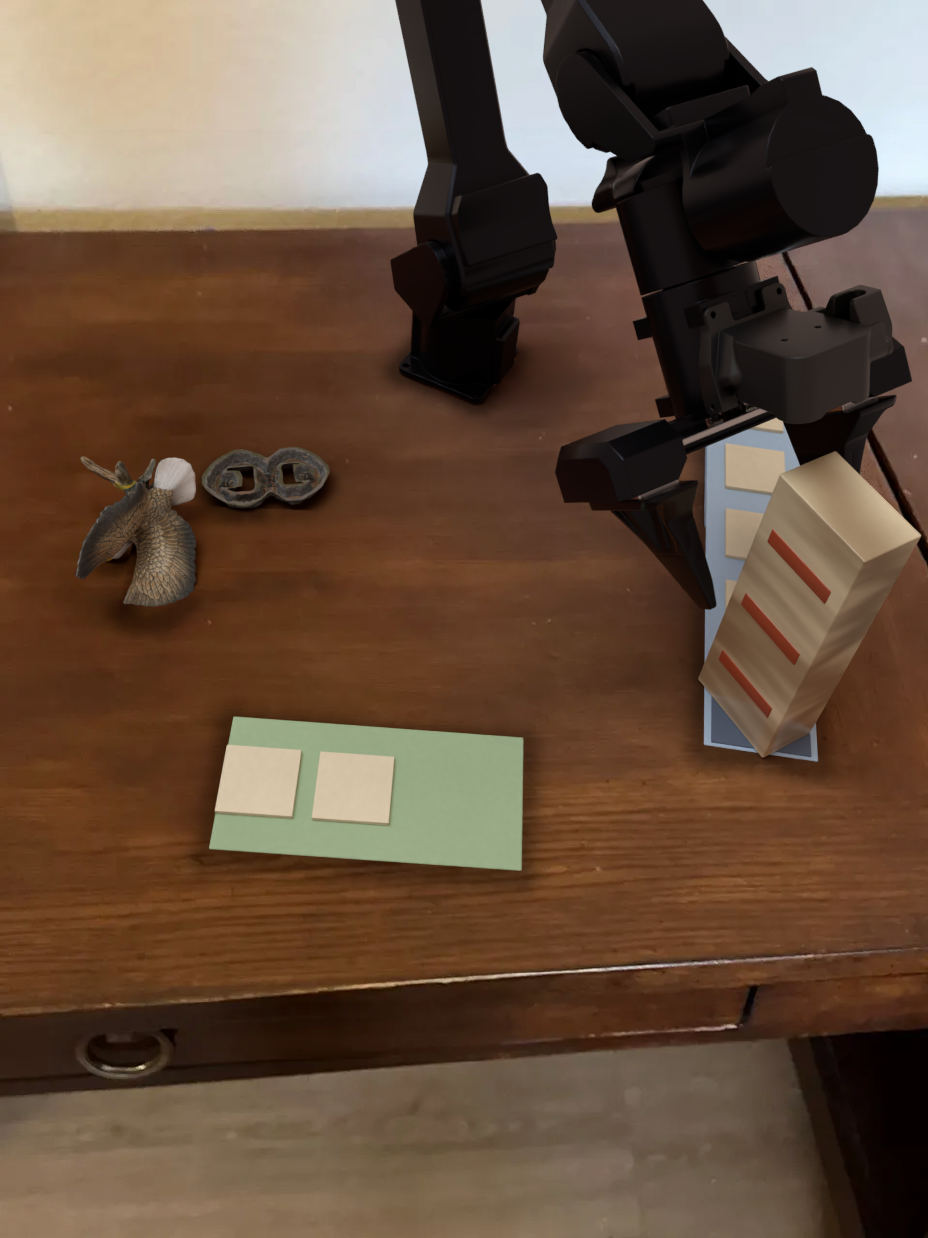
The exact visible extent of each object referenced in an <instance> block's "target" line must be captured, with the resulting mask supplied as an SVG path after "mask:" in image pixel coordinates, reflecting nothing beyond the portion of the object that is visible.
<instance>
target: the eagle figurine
mask: <svg viewBox="0 0 928 1238" xmlns="http://www.w3.org/2000/svg"><path fill="white" fill-rule="evenodd" d="M79 460H80V461H81V463H82V464H83V465H84V466H85V467H86V469H87V470H88V471H90V472H92V473H94V475H96V476H98V477H100V478H101V479H103V480H104V481H108V482H110V483H111V484H112V485H113V486H114V488H117V489H118V490H119V491H120V492H122V493H123V492H124V494H125V495H124V496H123V498H121V499H120V500H119V501H115V502H114V503H113V504H112V505H111V504H110V505H107V506H105V507H104V509H103V510H101V511H100V513H99V516H98V517H97V518H96V520H95V523H93V524H92V526H91V528H90V530H89V532H88V533H87V535H86V537H85V538H84V539H83V541H82V546H81V548H80V551H79V555H78V556H79V558H78V560H77V561H76V562H77V563H76V566H77V567H76V571H75V574H74V575H75V578H77V579H78V580H83V581H84V580H85V579H86V578H87V577H88V576H89V575H90V574H91V573H92V572H93V571H94V570H95V569H97V568H98V567H99V566H100V565H101V564H103V563H106V562H110V561H112V560H113V559H114V560H117V559H120V558H121V557H122V556H123V555H124V554H125V552H126V551H127V550H128V549H129V547H130V546H132V545H133V544H134V545H135V548H136V560H135V566H134V572H133V577H132V580H131V583H130V585H129V587H128V589H127V592H126V595H125V597H124V599H123V602H122V603H123V604H124V605H130V604H131V605H135V606H143V607H146V608H147V607H160V606H166V605H168V604H174V603H176V602H178V601H179V600H180V601H181V600H183V599H184V598H187V597H189V596H190V594H191V593H193V592H194V591H195V584H196V582H197V577H196V575H195V574H196V569H197V565H196V562H195V561H196V554H197V553H196V549H195V548H197V539H196V535H195V533H194V532H193V527H192V526H191V525H190V524H189V522H188V521H186V520H184V518H183V517H182V516H181V515H178V511H177V510H175V509H174V508H173V507H176V506H179V505H182V504H185V503H188V502H191V501H192V500H194V498H195V496H196V492H197V483H196V472H195V471H194V470H193V466H192V464H191V463H190V462H188V461H186V459H183V458H179V457H167V458H166V457H165V458H164V459H161V460H160V461H159V462H158V463H157V460H156V459H155V458H151V459H150V462H149V464H148V465H147V467H146V469H145V470H144V472H143V473H142V475H140V476H139V477H138V480H135V479H132V477H131V474H130V472H129V471H128V469H127V467H126V465H125V463H124V461H122V460H118V461H116V464H115V466H114V471H112V470H110V469H107V468H105V467H102V466H101V465H98V464H97V463H96V462H95V461H94V460H92V459H91V458H88V457H87V456H84V455H82V456H80V459H79ZM156 464H157V465H156ZM155 468H156V470H155ZM154 470H155V473H153V472H154ZM153 474H154V479H153V482H151V484H150V481H151V479H152V477H153Z"/></svg>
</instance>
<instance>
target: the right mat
mask: <svg viewBox="0 0 928 1238" xmlns="http://www.w3.org/2000/svg"><path fill="white" fill-rule="evenodd" d="M749 410H750V409H749ZM798 466H800V464H799V462H798V459H797V457H796V454H795V452H794V449H793V447H792V444H791V442H790V439H789V437H788V434H787V431H786V429H785V426H784V424H783V421H780V420H778V419H777V418H775V419H772V420H770V421H767V422H765V423H762V424H760V425H758V426H755V427H753V428H750V429H748V430H745V431H743V432H741V433H738V434H736V435H733V436H731V437H728V438H726V439H724V440H721V441H719V442H716V443H714V444H711V445H709V446H707V447H704V499H703V501H704V502H703V503H704V504H703V505H704V506H703V507H704V508H703V509H704V510H703V511H704V513H703V527H705V556H706V560H707V563H708V566H709V570H710V573H711V576H712V580H713V585H714V591H715V597H716V603H717V605H716V607H715V608H713V609H711V610H706V609H704V661H705V660H706V658H707V655H708V653H709V650H710V648H711V645H712V643H713V640H714V638H715V635H716V633H717V630H718V628H719V625H720V623H721V620H722V618H723V615H724V613H725V610H726V608H727V605H728V603H729V600H730V598H731V595H732V593H733V590H734V588H735V585H736V583H737V580H738V578H739V575H740V573H741V570H742V568H743V565H744V563H745V560H746V558H747V555H748V553H749V550H750V548H751V545H752V543H753V540H754V538H755V535H756V533H757V530H758V528H759V525H760V523H761V520H762V518H763V515H764V513H765V510H766V508H767V505H768V503H769V500H770V498H771V495H772V493H773V490H774V488H775V485H776V483H777V480H778V478H779V475H780V474H782V473H784V472H787V471H789V470H791V469H794V468H796V467H798ZM703 687H704V686H703ZM703 689H704V690H703V692H704V693H703V698H704V699H703V745H704V746H708V747H715V748H722V749H730V750H736V751H743V752H748V753H756V754H759V753H758V752H757V751H756V750H755V748H754V747H753V746H752V745H751V743H750V742H749V741H748V740H747V738H746V737H745V736H744V735H743V734H742V732H741V731H740V730H739V729H738V727H737V726H736V725H735V724H734V722H733V721H732V720H731V719H730V718H729V716H728V715H727V714H726V713H725V711H724V710H723V709H722V708H721V706H720V705H719V704H718V703H717V702H716V700H715V699H714V698H713V697H712V695H711V694H710V693H709V692H708V690H707V689H706V688H705V687H704V688H703ZM768 756H775V757H777V756H778V757H783V758H788V759H789V758H790V759H795V760H803V761H811V762H816V763H817V762H819V754H818V737H817V722H816V723H815V725H814V727H813V728H812V730H811V732H810V733H809V734H807V735H806V736H804V737H802V738H800V739H798V740H796V741H794V742H792V743H790V744H788V745H786V746H784V747H783V748H781V749H779V750H777V751H775V752H773V753H771V754H769V755H768Z"/></svg>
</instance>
